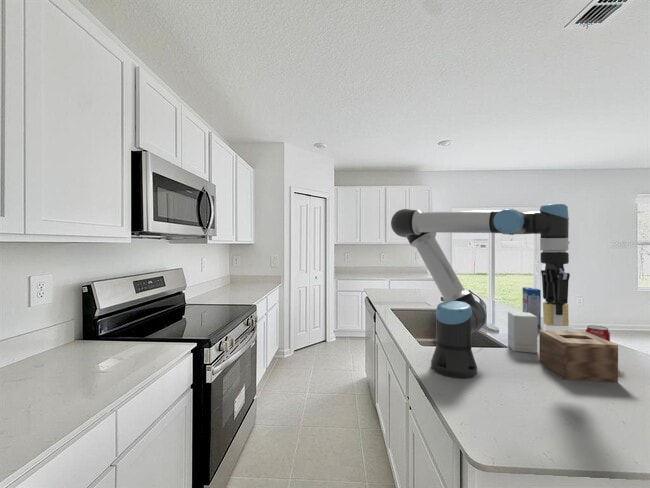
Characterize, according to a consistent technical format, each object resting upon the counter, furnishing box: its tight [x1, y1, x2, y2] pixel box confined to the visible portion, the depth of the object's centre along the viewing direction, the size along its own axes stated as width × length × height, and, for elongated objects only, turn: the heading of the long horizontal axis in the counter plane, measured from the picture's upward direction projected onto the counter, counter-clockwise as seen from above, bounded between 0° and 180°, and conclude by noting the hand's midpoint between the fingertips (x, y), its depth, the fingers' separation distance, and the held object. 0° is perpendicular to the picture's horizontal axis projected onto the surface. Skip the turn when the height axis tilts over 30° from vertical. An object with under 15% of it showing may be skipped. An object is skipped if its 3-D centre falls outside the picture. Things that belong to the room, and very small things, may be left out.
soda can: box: [585, 325, 611, 342], centre depth 123 cm, size 7×7×13 cm
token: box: [542, 301, 570, 327], centre depth 106 cm, size 6×3×7 cm, turn 80°
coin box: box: [538, 329, 619, 383], centre depth 114 cm, size 16×16×12 cm
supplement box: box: [507, 311, 538, 354], centre depth 138 cm, size 9×9×15 cm
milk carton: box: [522, 286, 542, 328], centre depth 179 cm, size 10×6×20 cm, turn 162°
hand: (554, 323), depth 106 cm, fingers closed on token, 3 cm apart
